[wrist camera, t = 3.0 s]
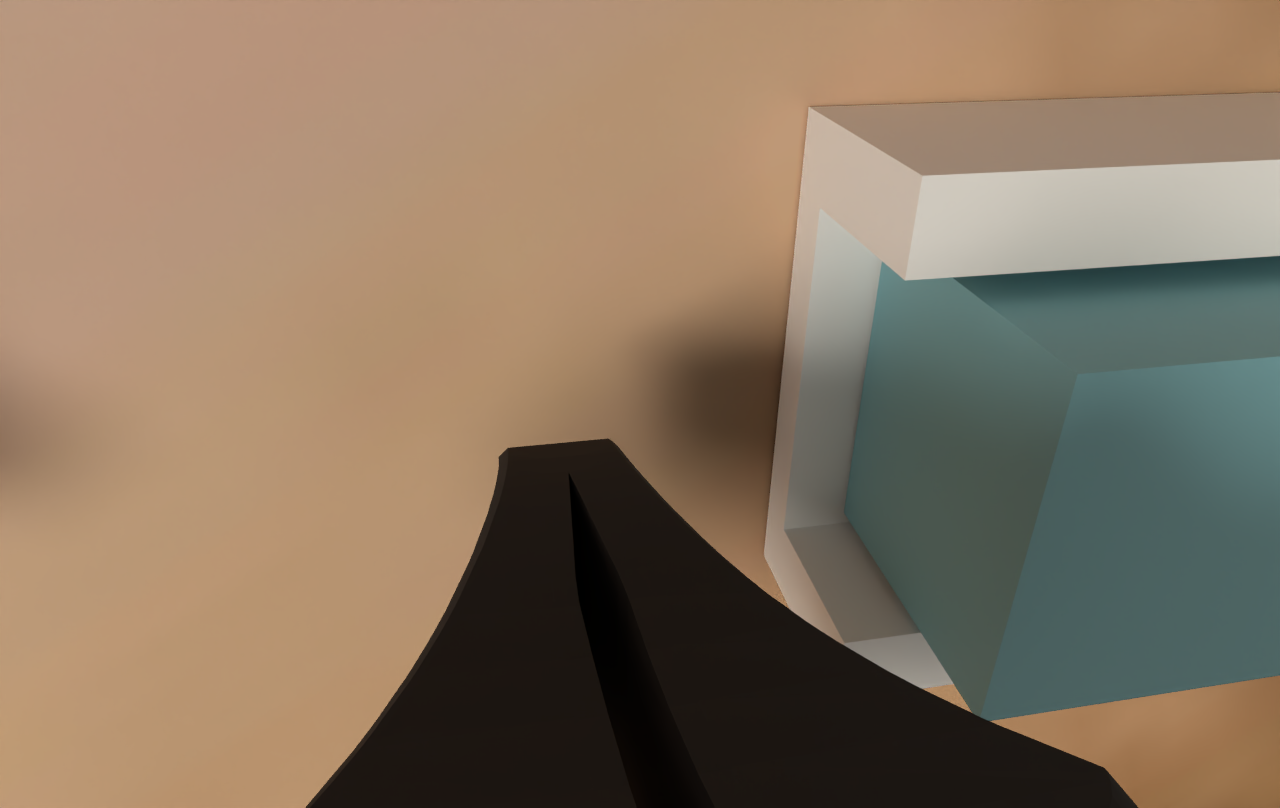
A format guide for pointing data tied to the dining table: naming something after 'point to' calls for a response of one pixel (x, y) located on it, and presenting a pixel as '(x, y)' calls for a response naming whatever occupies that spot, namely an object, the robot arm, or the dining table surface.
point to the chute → (974, 246)
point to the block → (1078, 477)
